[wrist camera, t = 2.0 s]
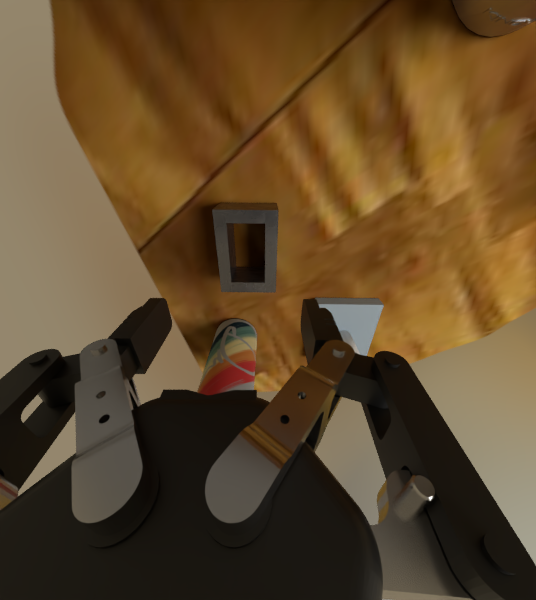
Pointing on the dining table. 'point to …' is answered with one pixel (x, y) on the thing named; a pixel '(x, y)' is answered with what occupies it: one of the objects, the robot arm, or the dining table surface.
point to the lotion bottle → (230, 359)
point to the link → (224, 235)
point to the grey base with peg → (354, 319)
